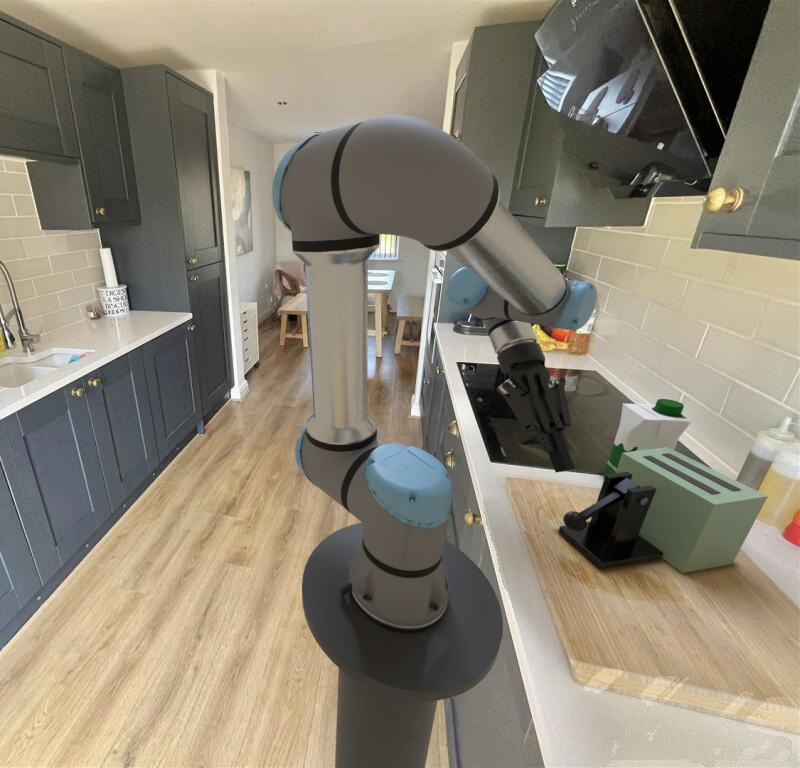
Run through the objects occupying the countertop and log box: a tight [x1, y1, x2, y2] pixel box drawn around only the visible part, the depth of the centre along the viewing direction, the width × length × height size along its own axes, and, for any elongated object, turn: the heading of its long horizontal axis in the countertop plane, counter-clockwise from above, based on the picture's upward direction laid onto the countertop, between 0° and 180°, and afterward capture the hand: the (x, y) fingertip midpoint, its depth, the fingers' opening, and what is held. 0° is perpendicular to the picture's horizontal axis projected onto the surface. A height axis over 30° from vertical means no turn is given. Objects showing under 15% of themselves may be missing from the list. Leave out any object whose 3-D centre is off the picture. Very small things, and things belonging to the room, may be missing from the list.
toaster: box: [616, 447, 769, 574], centre depth 70 cm, size 10×15×14 cm, turn 10°
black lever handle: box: [563, 478, 640, 531], centre depth 67 cm, size 13×3×3 cm
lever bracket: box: [558, 472, 664, 571], centre depth 69 cm, size 12×9×14 cm
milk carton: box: [602, 398, 692, 478], centre depth 83 cm, size 9×9×20 cm
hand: (565, 470), depth 68 cm, fingers closed
